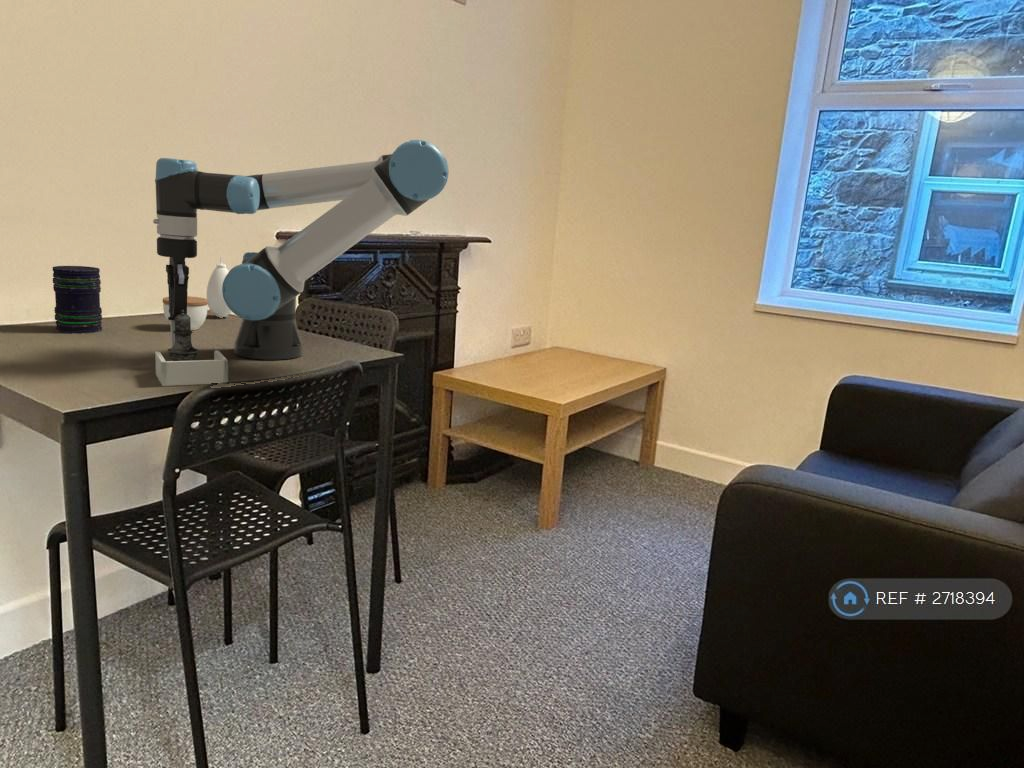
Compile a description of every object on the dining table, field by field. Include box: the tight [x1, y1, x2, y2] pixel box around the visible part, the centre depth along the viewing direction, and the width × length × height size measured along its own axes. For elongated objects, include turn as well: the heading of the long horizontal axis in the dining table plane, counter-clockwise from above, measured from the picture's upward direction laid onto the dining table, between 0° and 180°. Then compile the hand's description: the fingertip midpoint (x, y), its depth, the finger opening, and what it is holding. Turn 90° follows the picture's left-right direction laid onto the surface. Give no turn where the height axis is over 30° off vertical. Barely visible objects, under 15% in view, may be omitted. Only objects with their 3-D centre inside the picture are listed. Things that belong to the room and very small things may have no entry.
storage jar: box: [52, 265, 103, 335], centre depth 173 cm, size 10×10×15 cm
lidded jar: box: [162, 292, 208, 331], centre depth 188 cm, size 11×11×9 cm
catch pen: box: [154, 350, 229, 387], centre depth 140 cm, size 12×9×4 cm
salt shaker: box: [167, 310, 199, 361], centre depth 148 cm, size 6×6×12 cm
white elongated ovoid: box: [206, 254, 233, 319], centre depth 207 cm, size 8×8×18 cm
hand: (178, 349), depth 153 cm, fingers closed
